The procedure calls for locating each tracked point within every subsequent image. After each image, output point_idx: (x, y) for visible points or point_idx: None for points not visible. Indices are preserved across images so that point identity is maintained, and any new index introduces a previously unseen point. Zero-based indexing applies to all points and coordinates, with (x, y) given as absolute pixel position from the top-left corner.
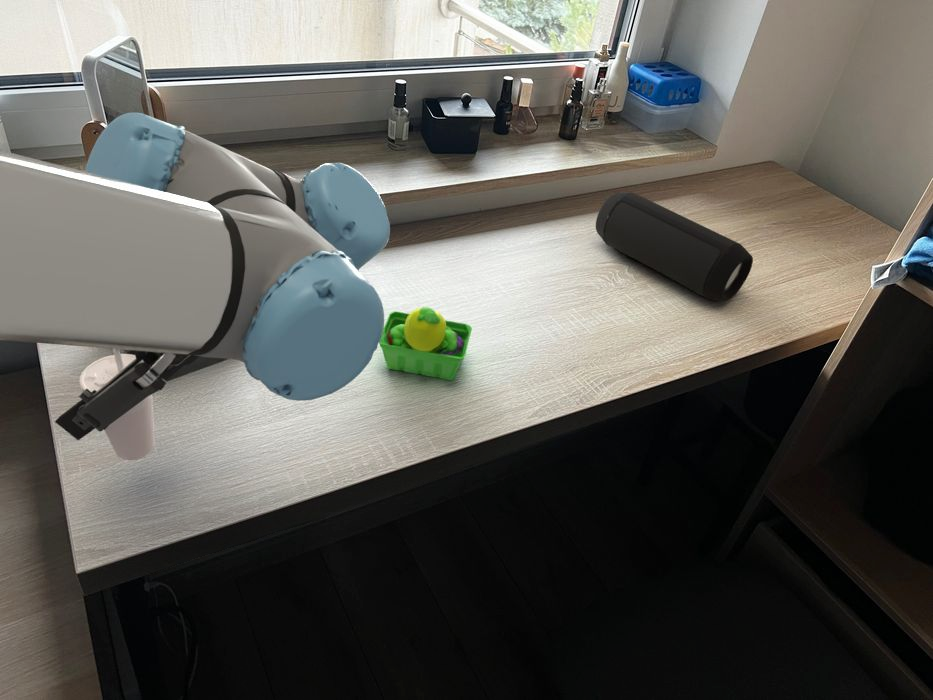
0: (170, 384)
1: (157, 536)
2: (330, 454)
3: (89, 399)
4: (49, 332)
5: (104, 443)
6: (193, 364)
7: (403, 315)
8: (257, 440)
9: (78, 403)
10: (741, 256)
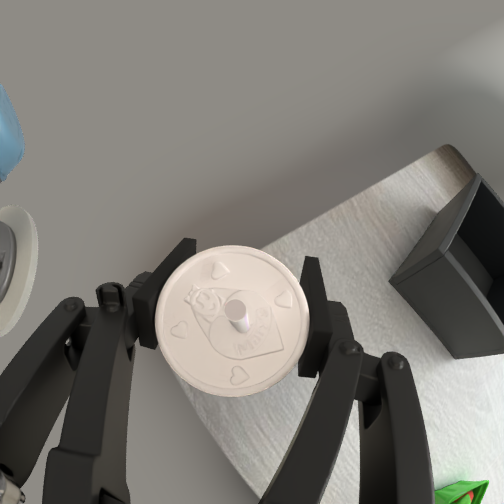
0: (397, 300)
1: None
2: None
3: (99, 308)
4: None
5: (301, 270)
6: (424, 314)
7: (483, 489)
8: None
9: (151, 274)
10: None
